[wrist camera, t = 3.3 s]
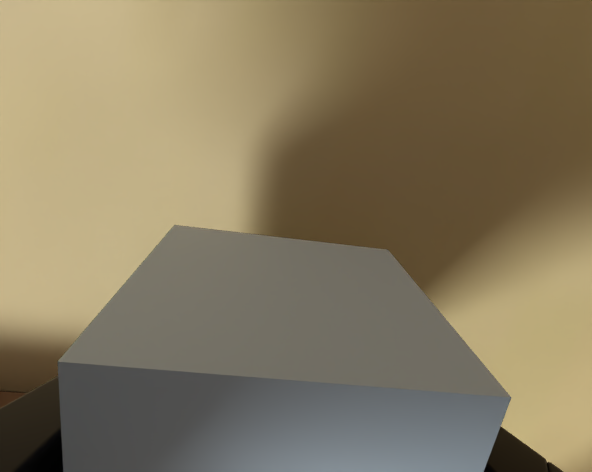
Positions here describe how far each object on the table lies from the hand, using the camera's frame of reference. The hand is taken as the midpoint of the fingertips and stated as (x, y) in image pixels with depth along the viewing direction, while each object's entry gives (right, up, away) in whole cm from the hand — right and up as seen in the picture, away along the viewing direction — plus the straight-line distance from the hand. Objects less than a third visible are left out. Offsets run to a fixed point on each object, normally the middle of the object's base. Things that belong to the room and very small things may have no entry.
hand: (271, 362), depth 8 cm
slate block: (0, 0, +1) cm, 1 cm away
